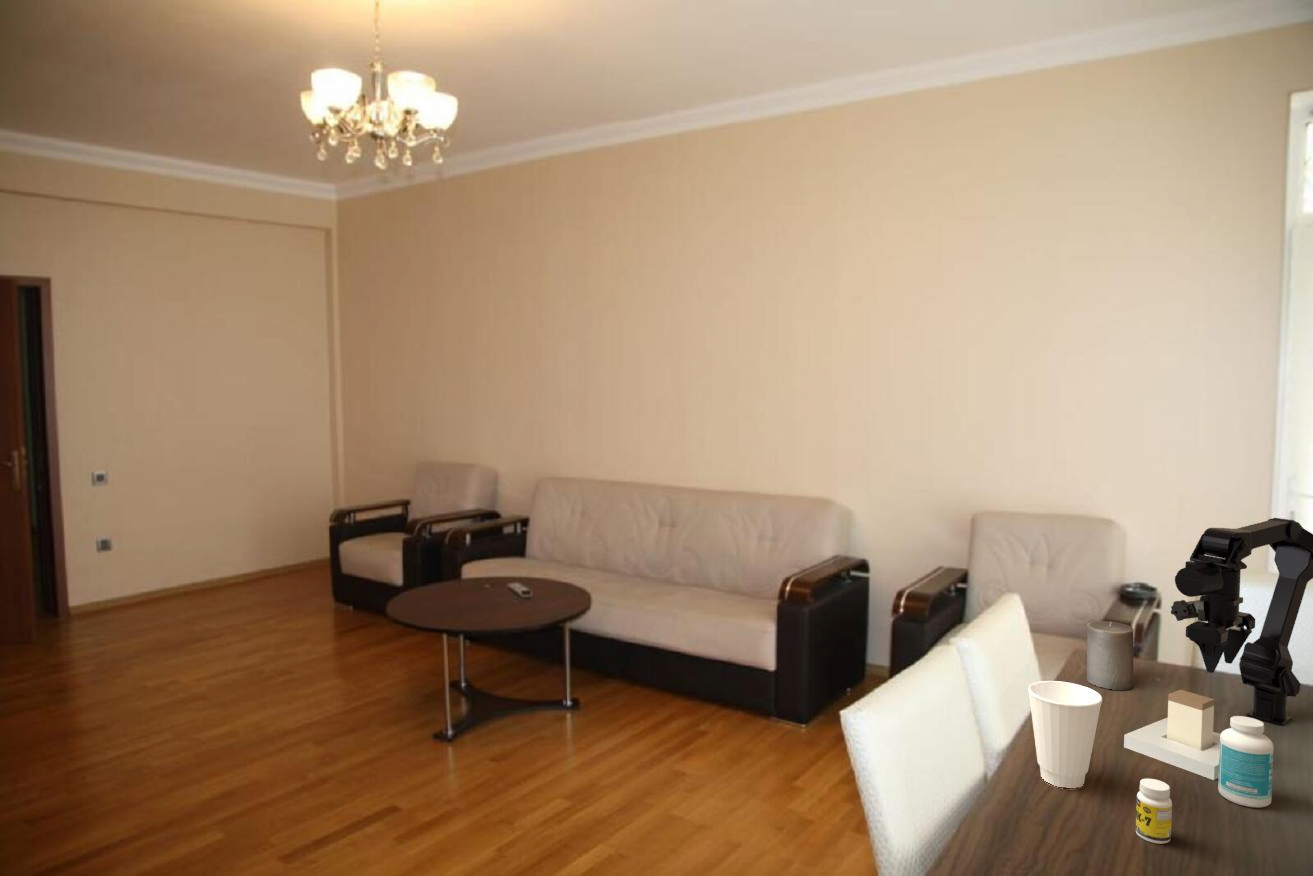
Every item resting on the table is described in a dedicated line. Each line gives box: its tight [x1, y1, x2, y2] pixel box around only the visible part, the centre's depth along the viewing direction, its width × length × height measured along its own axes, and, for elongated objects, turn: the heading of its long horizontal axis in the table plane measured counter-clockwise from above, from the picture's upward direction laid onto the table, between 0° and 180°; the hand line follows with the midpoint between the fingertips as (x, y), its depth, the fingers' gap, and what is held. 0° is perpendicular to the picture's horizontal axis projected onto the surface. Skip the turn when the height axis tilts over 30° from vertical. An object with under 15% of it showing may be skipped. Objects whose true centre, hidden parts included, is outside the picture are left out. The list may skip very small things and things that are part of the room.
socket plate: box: [1123, 716, 1221, 781], centre depth 159 cm, size 16×16×2 cm
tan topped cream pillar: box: [1167, 689, 1215, 751], centre depth 159 cm, size 4×6×11 cm
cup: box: [1027, 680, 1103, 788], centre depth 148 cm, size 12×12×16 cm
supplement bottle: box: [1135, 778, 1173, 845], centre depth 130 cm, size 5×5×8 cm
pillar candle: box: [1086, 620, 1135, 691], centre depth 196 cm, size 10×10×15 cm
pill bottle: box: [1217, 715, 1275, 808], centre depth 141 cm, size 8×7×14 cm
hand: (1219, 667), depth 169 cm, fingers open, 9 cm apart
